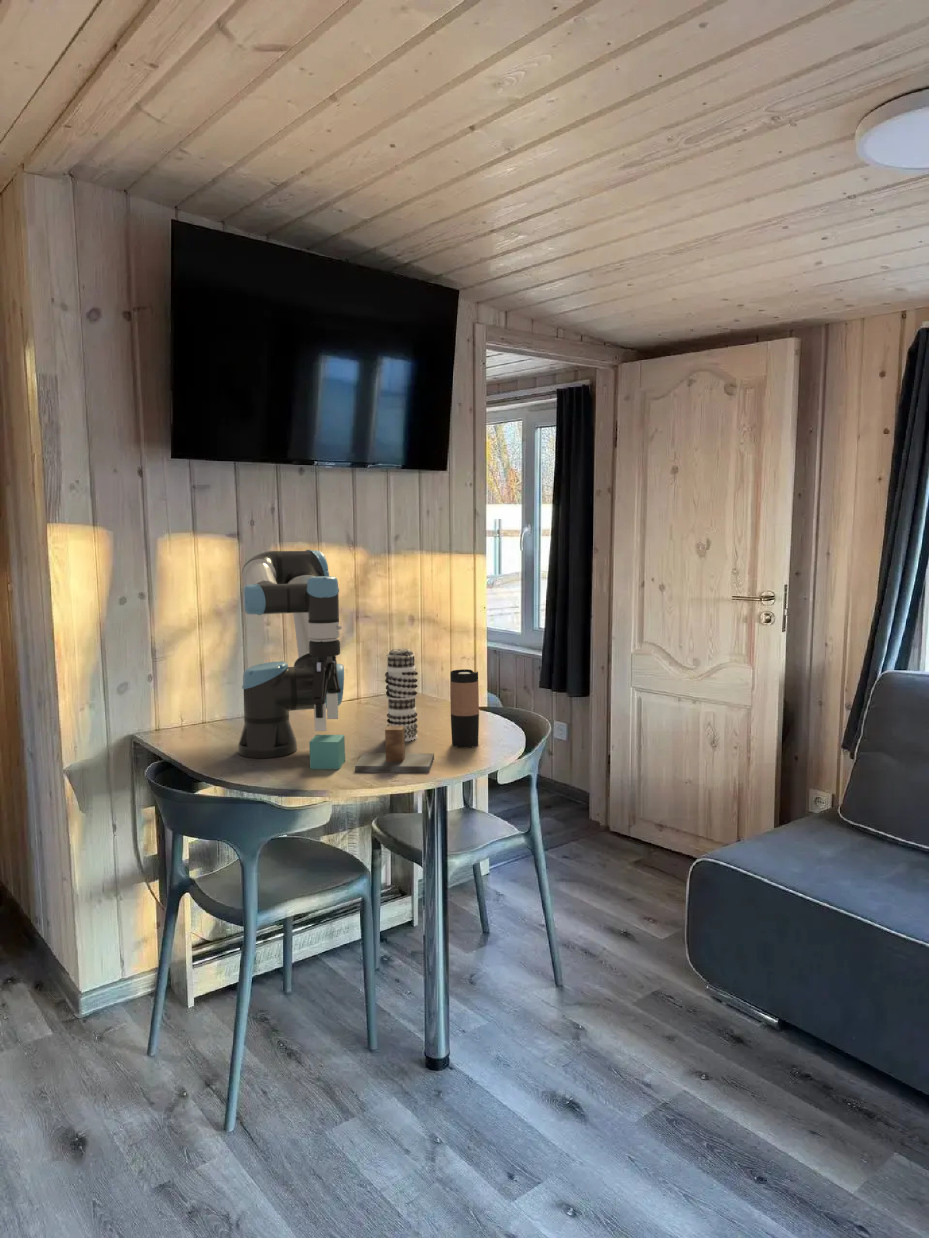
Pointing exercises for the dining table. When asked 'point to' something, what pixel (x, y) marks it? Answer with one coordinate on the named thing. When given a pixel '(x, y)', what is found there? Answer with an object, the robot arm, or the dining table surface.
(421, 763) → the grey base with post
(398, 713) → the decorative candle
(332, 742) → the mint green cube
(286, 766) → the dining table surface
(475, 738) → the travel mug
